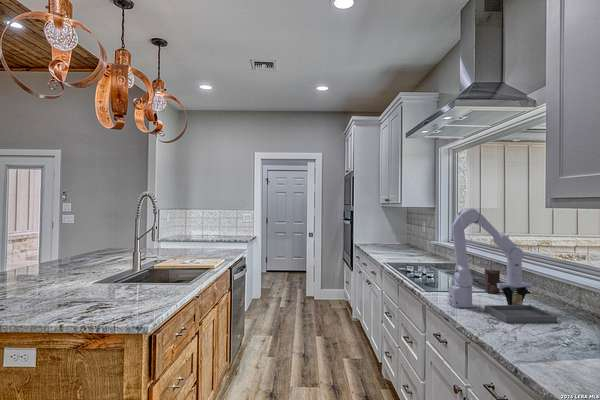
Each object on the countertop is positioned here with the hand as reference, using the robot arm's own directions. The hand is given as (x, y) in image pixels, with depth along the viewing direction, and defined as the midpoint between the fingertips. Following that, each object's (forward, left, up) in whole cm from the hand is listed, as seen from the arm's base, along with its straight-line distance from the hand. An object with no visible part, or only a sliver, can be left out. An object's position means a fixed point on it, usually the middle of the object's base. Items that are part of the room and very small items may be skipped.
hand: (514, 304), depth 163 cm
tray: (-6, -13, -1) cm, 14 cm away
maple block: (0, 0, -1) cm, 1 cm away
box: (+5, +28, -2) cm, 28 cm away
